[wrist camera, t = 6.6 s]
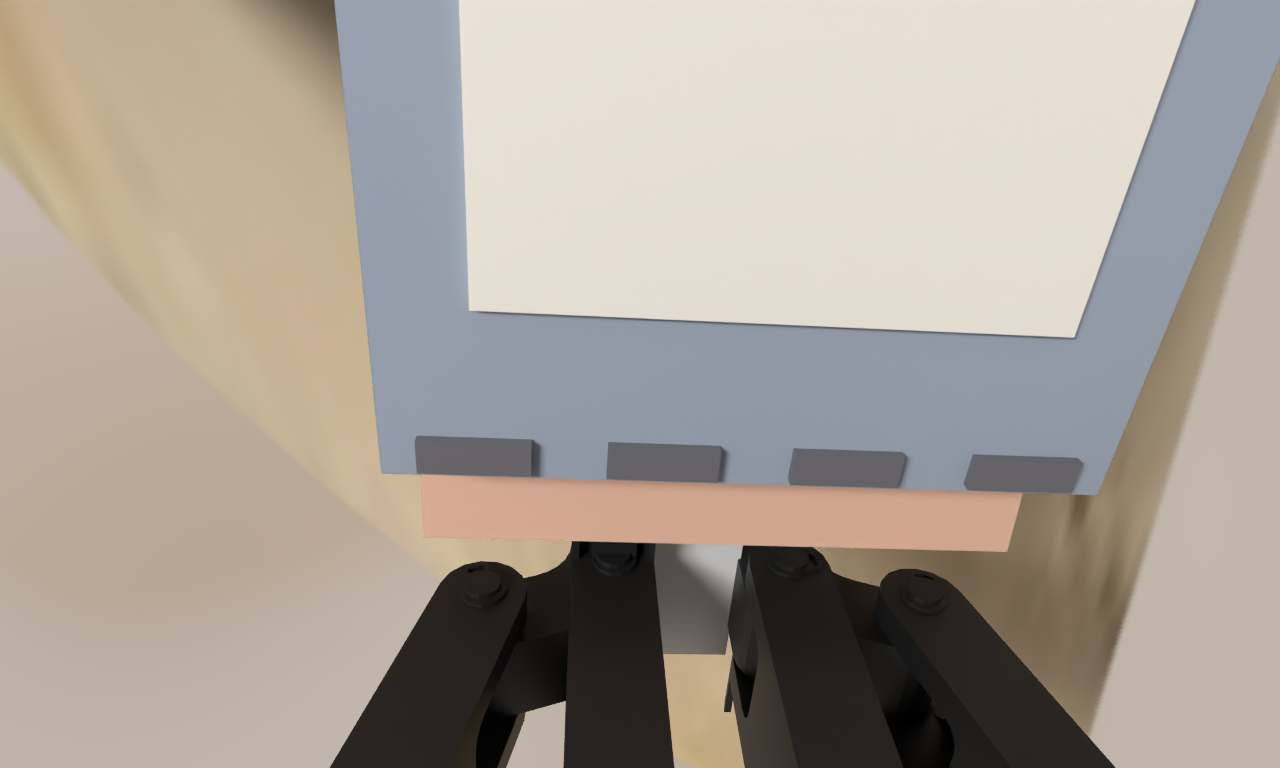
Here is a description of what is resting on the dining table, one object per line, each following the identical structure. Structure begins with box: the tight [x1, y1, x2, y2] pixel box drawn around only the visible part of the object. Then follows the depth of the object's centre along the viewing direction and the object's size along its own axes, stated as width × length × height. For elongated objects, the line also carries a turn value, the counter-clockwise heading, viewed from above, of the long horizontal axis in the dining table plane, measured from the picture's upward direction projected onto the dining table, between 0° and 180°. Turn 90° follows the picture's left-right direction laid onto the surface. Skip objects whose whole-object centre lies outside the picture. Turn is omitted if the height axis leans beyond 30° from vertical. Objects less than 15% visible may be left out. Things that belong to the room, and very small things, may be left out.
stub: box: [421, 475, 1023, 552], centre depth 14 cm, size 8×8×1 cm
